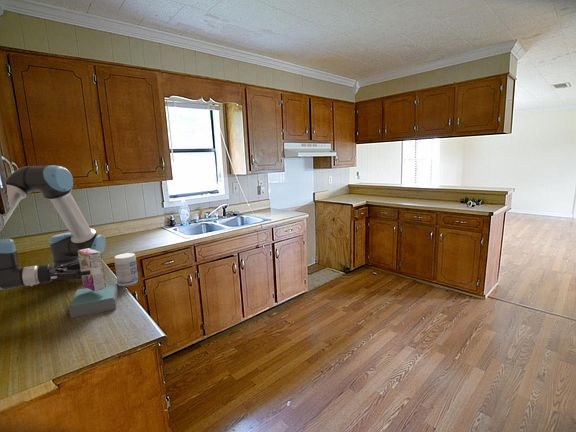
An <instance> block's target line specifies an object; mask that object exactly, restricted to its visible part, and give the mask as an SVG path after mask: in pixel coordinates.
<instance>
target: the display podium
mask: <svg viewBox="0 0 576 432" xmlns="http://www.w3.org/2000/svg"><path fill="white" fill-rule="evenodd" d="M105 286H106V288H104V289H101V290H98V291H93V290H91V289H88V288H86V287H85V288H80V289H77V290H76V291H75V293H74V295H73V297H72V300H71V302H70V305H69V307H68V311H69V312H68V313H69V317H70V319H72V318H77V317H81V316H82V317H83V316H86V315H92V314H96V313H103V312H107V311H111V310H112V311H113V310H116V309H117V303H118V297H119V295H118V294H119V290H118V288H119V287H118V284H117V283H110V284H105Z"/></svg>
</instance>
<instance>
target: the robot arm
mask: <svg viewBox="0 0 576 432" xmlns="http://www.w3.org/2000/svg"><path fill="white" fill-rule="evenodd" d="M5 179H6V185H7V195H8V202H9V207H10V210H9V212H8V213H7V214H6V216H3V219H4V226H3V228H4V227H5V225H6V223H7V222H8V220H9V219H10V218H11V216H12V214H13V212H14V211H15V209H16V208H17V206H18V205H19V203H20V201H22V200H24V199H26V197H28V195H29V194H31V193H32V192H40V193H41V194H42V196H43V198H45V199H46V200H49V201H50V202H51V203H52V205H53V206H54V209H55V210H56V212H57V214H59V217H60V218H61V219H62V221H63V223H64V225H65V226H66V228H67V229H68V232H63V233H58V234H55V235H52V236H51V237H50V238H49V246H50V253H51V258H52V263H53V264H50V263H45V264H41V265H39V266H38V265H30V266H22V267H20V264H19V259H18V252H17V251H18V250H17V247H16V244H15V241H14V239H12V238H0V290H4V291H5V290H9V289H15V288H21V287H28V286H30V287H33V286H35V285H39V284H48V283H49V284H50V283H51V282H53V281H59V280H60V281H62V280H82V277H81V276H89V275H95V274H101V272H100V267H96V268H89V269H82V270H80V263H79V257H78V250H82V249H87V248H91V249H93V250H96V251H99V252H101V255H102V254H103V252H104V251H105V248H106V242H107V241H106V238H105V236H104V235H102V234H98V233H97V232H96V230H95V229H94V228H91V227H90V225H89V224H88V222H87V220H86V219H85V216H84V214H83V213H82V211H81V209H80V208H79V206H78V204H77V202H76V200H75V199H74V197H73V195H72V193H71V192H72V191H73V186H74V178H73V175H72V173H71V171H70V170H68V169H67V168H66V167H64V166H61V165H52V164H51V165H50V164H49V165H27V166H22V167H19V168H18V169H16V170H15V171H13V172H12V173H10V175H8V176H7V177H6V178H5ZM3 228H2V229H0V232H1V231H2V230H3ZM102 263H103V264H104V259H103V258H102Z"/></svg>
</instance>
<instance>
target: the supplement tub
mask: <svg viewBox="0 0 576 432" xmlns="http://www.w3.org/2000/svg"><path fill="white" fill-rule="evenodd" d="M114 266H115V275H116V276H115V277H116V282H117V283H116V284H117V286H119V287H129V286H133V285H135V284H137V283H138V281H139V275H138V267H137V256H136V254H135V253H132V252H126V253H125V252H124V253H121V254H117V255H115V256H114Z"/></svg>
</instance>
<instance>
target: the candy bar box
mask: <svg viewBox="0 0 576 432" xmlns="http://www.w3.org/2000/svg"><path fill="white" fill-rule="evenodd" d="M78 257H79V263H80V270H82V269H89V268H96V267H100V272H101V274H95V275H89V276H81V277H82V279H81V281H82V287H85V288H88V289H91V290H93V291H98V290H101V289H104V288H106V286H105V285H106V280H105V273H104V272H105V271H104V262H103V263H102V259H103V257H102V254H101V252H99V251H96V250H93V249H91V248H87V249H82V250H78Z"/></svg>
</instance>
